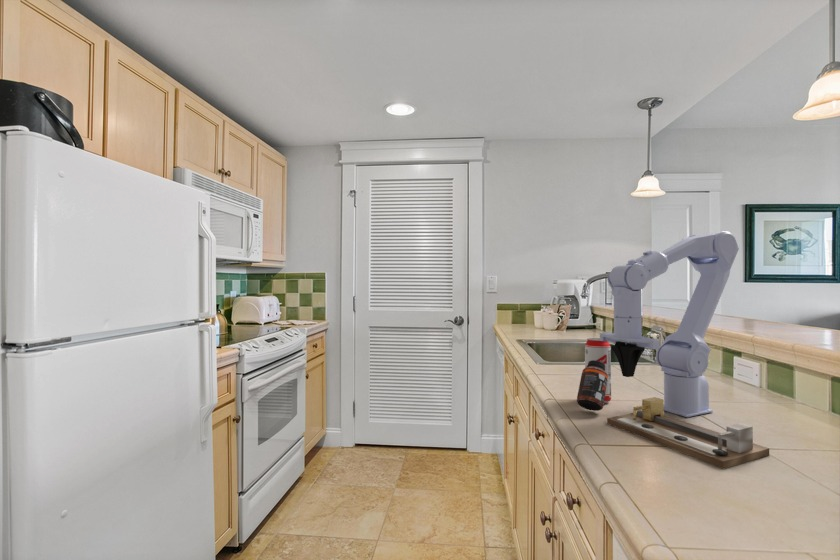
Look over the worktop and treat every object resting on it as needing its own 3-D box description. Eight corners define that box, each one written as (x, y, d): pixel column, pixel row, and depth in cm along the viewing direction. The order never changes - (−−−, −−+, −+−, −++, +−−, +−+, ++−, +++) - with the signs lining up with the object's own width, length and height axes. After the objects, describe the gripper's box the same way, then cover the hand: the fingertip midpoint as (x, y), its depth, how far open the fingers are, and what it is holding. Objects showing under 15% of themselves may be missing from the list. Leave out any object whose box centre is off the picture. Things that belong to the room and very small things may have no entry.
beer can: (609, 405, 103) (609, 340, 104) (582, 401, 106) (582, 339, 107) (612, 400, 108) (612, 338, 109) (587, 397, 112) (587, 337, 112)
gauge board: (648, 415, 96) (648, 392, 96) (769, 455, 74) (769, 425, 74) (607, 423, 91) (606, 399, 91) (723, 468, 69) (723, 437, 69)
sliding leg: (655, 415, 91) (655, 397, 91) (663, 418, 89) (663, 399, 89) (629, 420, 88) (629, 401, 88) (638, 423, 86) (637, 404, 86)
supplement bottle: (605, 405, 94) (612, 362, 100) (578, 397, 96) (586, 355, 102) (599, 414, 99) (606, 372, 105) (573, 406, 101) (581, 365, 107)
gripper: (590, 315, 100) (590, 371, 100) (643, 320, 87) (643, 385, 87) (611, 314, 103) (612, 368, 103) (666, 319, 90) (666, 381, 90)
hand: (628, 376), depth 95 cm, fingers closed
